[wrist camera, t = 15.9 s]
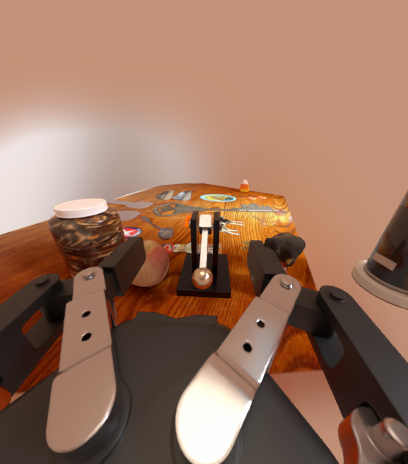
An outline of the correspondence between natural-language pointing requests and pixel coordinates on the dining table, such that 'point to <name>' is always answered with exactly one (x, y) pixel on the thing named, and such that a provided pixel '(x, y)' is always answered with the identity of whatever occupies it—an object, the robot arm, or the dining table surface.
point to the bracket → (214, 264)
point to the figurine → (286, 248)
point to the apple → (152, 265)
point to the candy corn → (244, 186)
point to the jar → (85, 232)
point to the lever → (203, 255)
